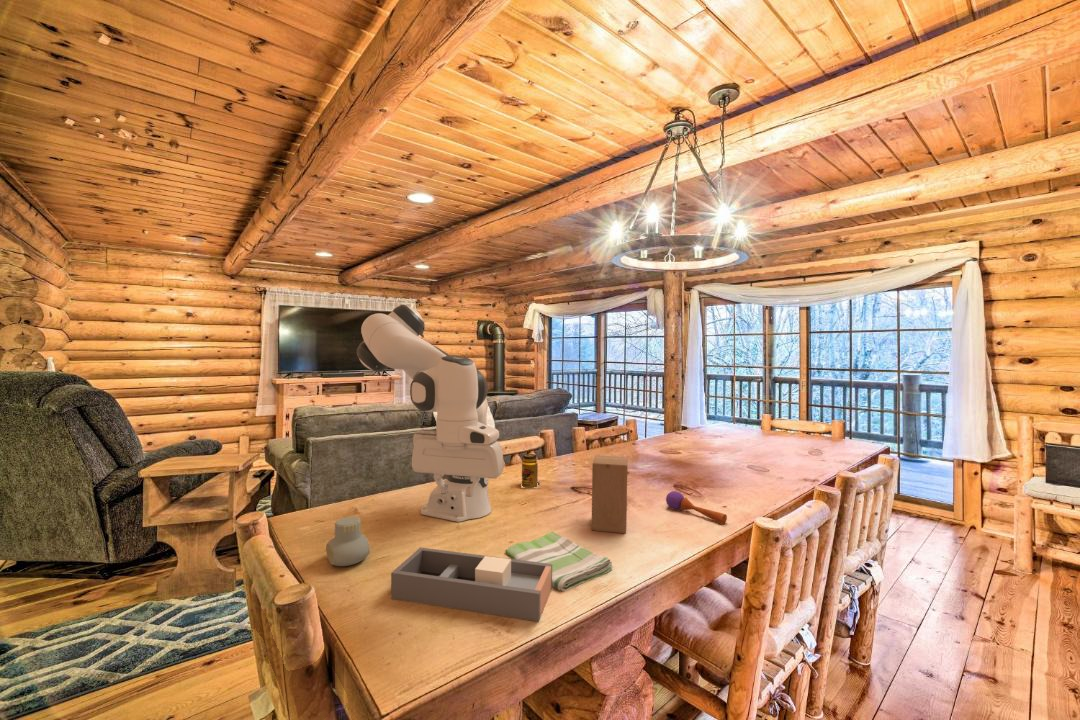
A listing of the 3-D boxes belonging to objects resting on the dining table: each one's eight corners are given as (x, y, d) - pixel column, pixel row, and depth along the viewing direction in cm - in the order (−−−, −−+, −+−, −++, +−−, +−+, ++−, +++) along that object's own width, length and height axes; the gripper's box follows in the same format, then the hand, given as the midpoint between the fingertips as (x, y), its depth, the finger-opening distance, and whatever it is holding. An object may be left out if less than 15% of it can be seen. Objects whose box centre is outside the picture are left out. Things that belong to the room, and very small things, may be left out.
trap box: (391, 598, 94) (391, 572, 94) (420, 570, 106) (420, 547, 106) (538, 621, 87) (539, 593, 87) (551, 588, 99) (552, 564, 99)
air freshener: (372, 564, 109) (372, 523, 109) (336, 575, 104) (336, 532, 103) (358, 548, 117) (358, 510, 117) (324, 557, 112) (324, 518, 112)
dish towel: (560, 595, 97) (560, 579, 97) (502, 555, 115) (503, 542, 115) (614, 572, 108) (615, 558, 107) (554, 539, 126) (554, 526, 126)
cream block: (474, 587, 93) (475, 569, 93) (485, 573, 99) (485, 556, 99) (502, 591, 92) (502, 572, 92) (511, 577, 98) (511, 559, 97)
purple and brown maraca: (719, 514, 134) (662, 492, 149) (719, 532, 135) (662, 508, 150) (729, 506, 138) (672, 486, 153) (728, 524, 139) (672, 501, 154)
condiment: (520, 488, 169) (520, 457, 169) (521, 481, 177) (521, 451, 177) (539, 488, 169) (539, 457, 168) (539, 482, 177) (540, 452, 177)
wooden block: (626, 534, 128) (627, 465, 128) (591, 530, 130) (592, 462, 130) (626, 520, 138) (627, 456, 138) (594, 518, 140) (595, 454, 140)
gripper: (406, 431, 96) (405, 495, 96) (496, 436, 91) (496, 504, 91) (420, 426, 102) (420, 486, 102) (506, 431, 97) (505, 494, 98)
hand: (456, 494), depth 97 cm, fingers open, 5 cm apart
